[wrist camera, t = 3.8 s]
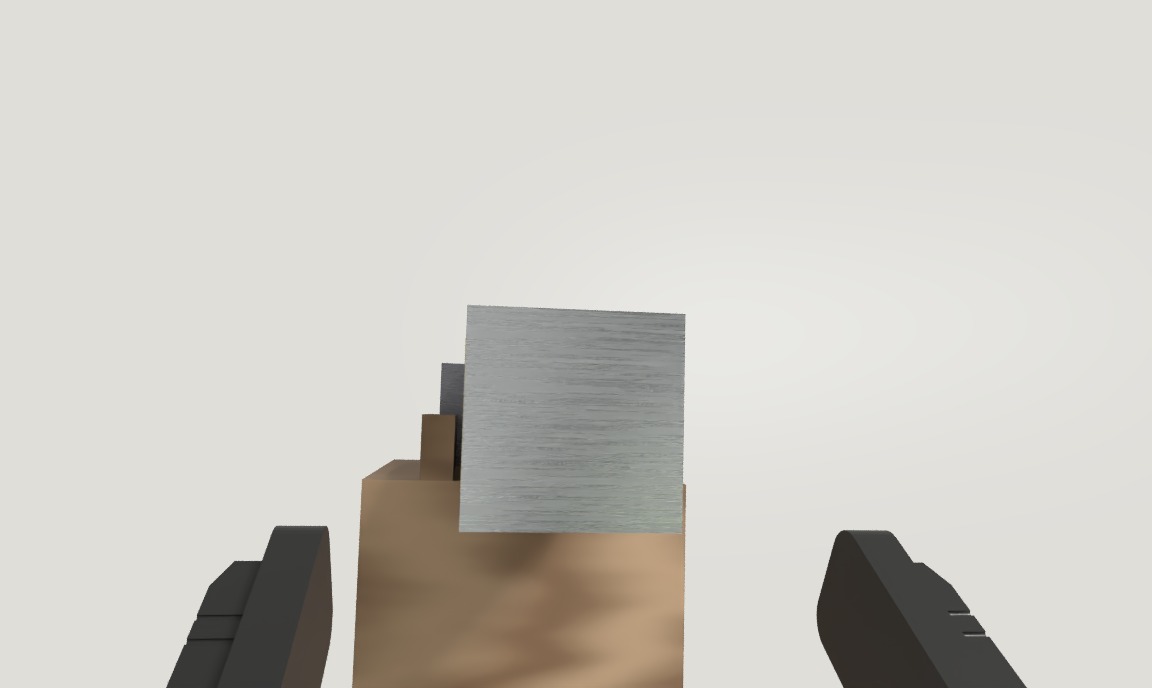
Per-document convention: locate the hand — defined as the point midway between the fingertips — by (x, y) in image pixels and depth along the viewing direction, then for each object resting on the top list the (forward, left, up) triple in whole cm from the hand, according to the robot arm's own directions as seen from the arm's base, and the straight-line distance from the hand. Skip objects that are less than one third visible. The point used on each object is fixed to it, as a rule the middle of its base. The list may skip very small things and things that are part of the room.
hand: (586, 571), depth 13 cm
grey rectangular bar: (0, -13, 0) cm, 13 cm away
